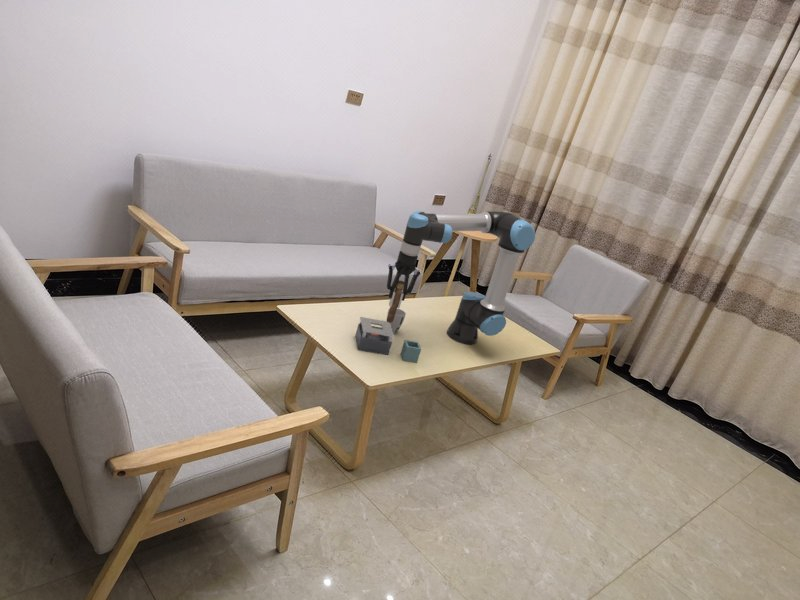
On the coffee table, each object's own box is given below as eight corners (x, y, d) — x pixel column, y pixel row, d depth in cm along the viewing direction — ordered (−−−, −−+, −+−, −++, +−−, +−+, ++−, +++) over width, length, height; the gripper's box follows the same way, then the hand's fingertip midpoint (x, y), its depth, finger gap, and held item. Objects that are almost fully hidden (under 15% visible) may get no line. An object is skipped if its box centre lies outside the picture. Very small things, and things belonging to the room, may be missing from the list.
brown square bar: (392, 320, 226) (403, 281, 220) (393, 323, 223) (404, 283, 217) (385, 319, 225) (396, 279, 219) (386, 322, 223) (397, 282, 216)
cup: (398, 337, 244) (404, 317, 240) (381, 331, 245) (386, 311, 241) (401, 330, 251) (407, 311, 248) (385, 325, 252) (390, 306, 249)
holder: (414, 355, 231) (418, 342, 228) (416, 362, 225) (421, 349, 223) (400, 353, 229) (404, 339, 227) (402, 360, 224) (407, 346, 221)
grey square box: (384, 340, 236) (389, 322, 233) (388, 355, 225) (394, 335, 221) (355, 335, 233) (360, 316, 230) (357, 350, 221) (363, 330, 218)
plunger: (376, 338, 230) (378, 330, 229) (377, 342, 227) (379, 334, 225) (368, 337, 229) (370, 329, 228) (369, 341, 226) (371, 332, 225)
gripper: (426, 253, 219) (410, 306, 227) (388, 245, 215) (374, 299, 223) (429, 259, 212) (413, 313, 220) (391, 251, 208) (376, 306, 217)
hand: (394, 306), depth 222 cm, fingers closed on brown square bar, 3 cm apart
